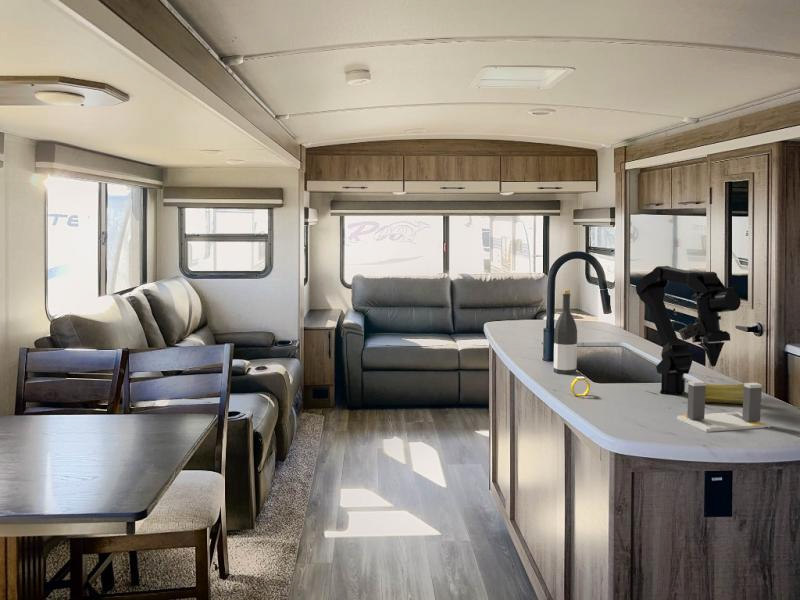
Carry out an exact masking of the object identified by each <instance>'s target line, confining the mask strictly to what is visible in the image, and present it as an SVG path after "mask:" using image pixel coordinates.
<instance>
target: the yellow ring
mask: <svg viewBox="0 0 800 600" xmlns="http://www.w3.org/2000/svg"><path fill="white" fill-rule="evenodd" d="M578 381H585V382H586V390H585V391H584V392H583V393H576V392H575V384H576V383H577V382H578ZM590 390H591V384H590V382H589V380H588V379H586V377H585V376H576V377H575V378H574V380H572V382H571V384H570V391H571V393H572V394H573V395H574V396H575V397H583V396H584V397H585V396H587V395H588V394H589V393H590Z"/></svg>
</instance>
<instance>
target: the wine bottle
mask: <svg viewBox="0 0 800 600" xmlns="http://www.w3.org/2000/svg"><path fill="white" fill-rule="evenodd" d="M570 309H571V293H570V289H563V293H562V311H561V313H560V315H559V317H558V318H557V320H556V323H555V325H554V331H553V333H554V334H553V372H554V373H556V374H559V375H574V374H576V373H577V364H578V363H577V361H578V359H577V356H578V353H577V352H578V328H577V327H578V326H577V323H576V320H575V318H574V317H573V314H572V313H571V310H570Z"/></svg>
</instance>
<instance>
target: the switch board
mask: <svg viewBox="0 0 800 600" xmlns="http://www.w3.org/2000/svg"><path fill="white" fill-rule="evenodd" d="M742 417H743V412H742V413H741V412H739V411H726V412H725V411H724V412H717V413H704V419H694V420H692V419H690V418H688V417H687V414H681V415H677V420H679V421H681V422H684V423H685V424H688V425H690V426H693V427H694V428H696V429H699V430H701V431H703V432H705V433H708V432H709V433H710V432H721V431H736V430H739V431H740V430H749V429H751V430H752V429H763V428H764V429H766V428H765V427H768V428H771V424H770V423H768V422H765V421H762V420H760V421H757V422H747V421H745V420H742Z"/></svg>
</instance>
